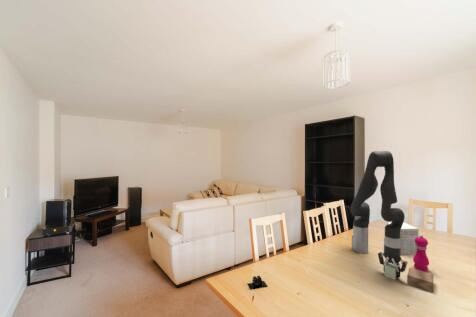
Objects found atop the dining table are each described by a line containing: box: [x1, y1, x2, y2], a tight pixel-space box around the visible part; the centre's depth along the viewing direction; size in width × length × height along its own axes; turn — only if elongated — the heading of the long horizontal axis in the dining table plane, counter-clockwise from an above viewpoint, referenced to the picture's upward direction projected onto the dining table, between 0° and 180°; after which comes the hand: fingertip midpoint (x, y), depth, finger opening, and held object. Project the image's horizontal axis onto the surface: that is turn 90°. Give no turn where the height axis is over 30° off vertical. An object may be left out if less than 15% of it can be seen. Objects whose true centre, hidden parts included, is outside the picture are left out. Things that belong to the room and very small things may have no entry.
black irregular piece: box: [246, 275, 268, 291], centre depth 115 cm, size 12×7×5 cm, turn 105°
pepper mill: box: [412, 234, 430, 272], centre depth 129 cm, size 7×7×20 cm
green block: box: [384, 263, 397, 281], centre depth 122 cm, size 5×5×6 cm
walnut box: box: [406, 267, 434, 293], centre depth 115 cm, size 10×10×5 cm
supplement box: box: [386, 222, 420, 256], centre depth 153 cm, size 13×13×18 cm
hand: (391, 275), depth 122 cm, fingers closed on green block, 5 cm apart
